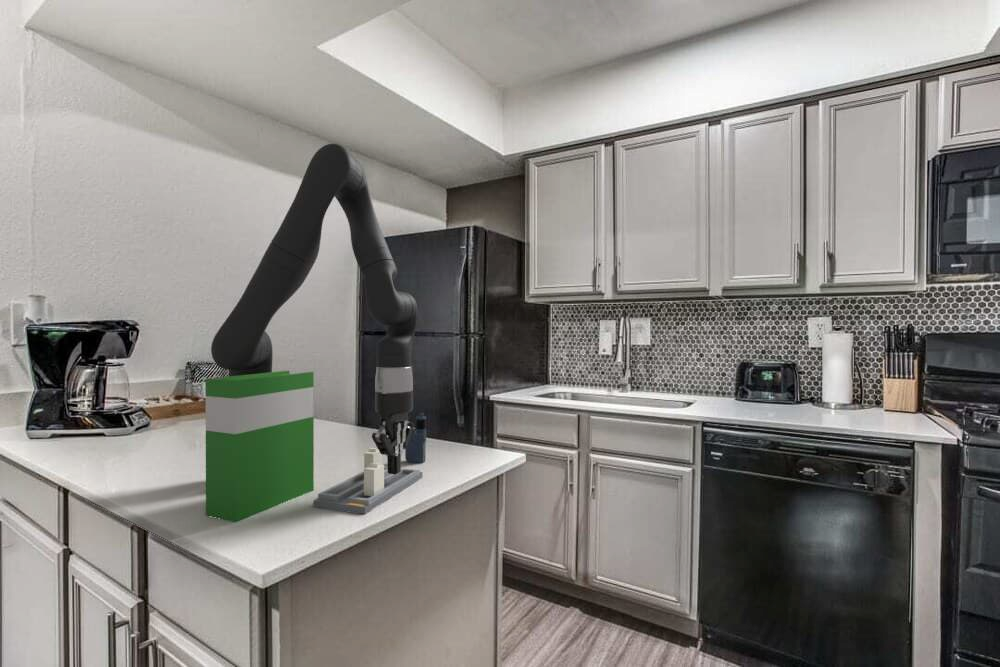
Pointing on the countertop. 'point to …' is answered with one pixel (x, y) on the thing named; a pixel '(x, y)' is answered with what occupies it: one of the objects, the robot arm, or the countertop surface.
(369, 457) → the tab
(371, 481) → the tab
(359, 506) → the switch board
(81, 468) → the countertop surface
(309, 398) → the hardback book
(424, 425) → the vaping device
